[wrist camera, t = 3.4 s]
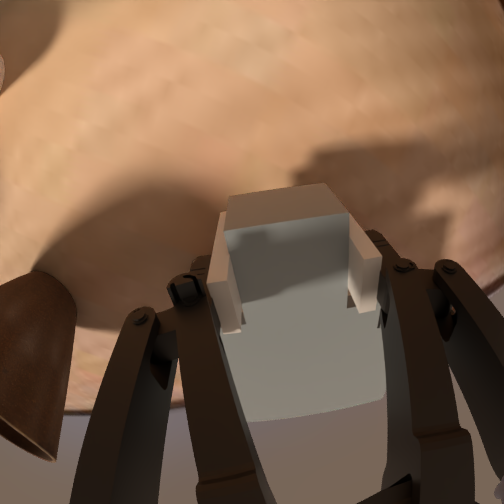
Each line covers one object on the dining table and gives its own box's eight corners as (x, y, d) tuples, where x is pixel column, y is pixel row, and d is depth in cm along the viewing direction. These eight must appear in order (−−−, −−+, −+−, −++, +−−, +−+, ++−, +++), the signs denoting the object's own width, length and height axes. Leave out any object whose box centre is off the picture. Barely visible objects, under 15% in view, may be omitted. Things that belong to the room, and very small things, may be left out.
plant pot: (37, 339, 28) (-9, 432, 15) (-13, 243, 21) (-94, 336, 7) (125, 350, 28) (87, 478, 14) (75, 231, 21) (-37, 377, 7)
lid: (221, 396, 24) (219, 433, 21) (144, 213, 15) (117, 249, 11) (373, 373, 23) (385, 407, 20) (403, 175, 14) (443, 201, 10)
